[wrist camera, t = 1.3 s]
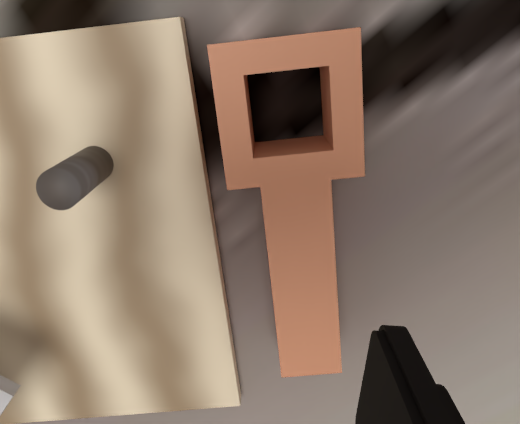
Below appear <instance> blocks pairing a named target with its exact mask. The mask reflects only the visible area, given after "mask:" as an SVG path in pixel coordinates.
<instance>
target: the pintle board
mask: <svg viewBox="0 0 520 424" xmlns="http://www.w3.org/2000/svg"><path fill="white" fill-rule="evenodd" d="M240 402H241V390H240V383H239V377H238V370H237V364H236V357H235V350H234V344H233V337H232V331H231V324H230V318H229V311H228V305H227V298H226V292H225V285H224V278H223V272H222V265H221V259H220V252H219V246H218V239H217V233H216V226H215V219H214V213H213V206H212V200H211V193H210V187H209V180H208V174H207V167H206V161H205V154H204V147H203V141H202V134H201V128H200V121H199V115H198V108H197V102H196V95H195V88H194V82H193V75H192V69H191V62H190V56H189V49H188V43H187V36H186V30H185V23H184V18H182V17H174V18H166V19H157V20H149V21H140V22H132V23H123V24H115V25H107V26H98V27H90V28H81V29H73V30H64V31H56V32H48V33H39V34H31V35H22V36H14V37H5V38H0V424H15V423H28V422H40V421H53V420H66V419H79V418H91V417H104V416H117V415H130V414H142V413H155V412H168V411H181V410H193V409H206V408H219V407H232V406H240Z"/></svg>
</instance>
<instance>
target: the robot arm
mask: <svg viewBox="0 0 520 424" xmlns="http://www.w3.org/2000/svg"><path fill="white" fill-rule="evenodd" d="M356 424H465V422H464V421H463V419H462V417H461V415H460V413H459V411H458V410H457V408H456V406H455V404H454V402H453V400H452V399H451V397H450V395H449V393H448V391H447V390H446V389H445V387H444V386H442V385H440V384H436V383H435V381H434V379H433V378H432V376H431V374H430V372H429V370H428V368H427V366H426V364H425V362H424V360H423V358H422V356H421V355H420V353H419V351H418V349H417V347H416V345H415V343H414V341H413V339H412V337H411V335H410V334H409V332H408V330H407V328H406V327H404V326H389V325H382V326H380V328H379V331H373V332H372V334H371V338H370V343H369V349H368V354H367V360H366V365H365V370H364V376H363V381H362V386H361V392H360V397H359V402H358V408H357V413H356Z"/></svg>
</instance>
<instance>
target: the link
mask: <svg viewBox="0 0 520 424" xmlns="http://www.w3.org/2000/svg"><path fill="white" fill-rule="evenodd" d="M207 49H208V56H209V63H210V71H211V78H212V85H213V92H214V99H215V106H216V114H217V121H218V128H219V135H220V142H221V150H222V157H223V164H224V171H225V178H226V186H227V190H235V189H245V188H255V187H260V189H261V198H262V207H263V216H264V225H265V233H266V242H267V251H268V260H269V269H270V278H271V287H272V296H273V305H274V314H275V323H276V331H277V340H278V349H279V358H280V367H281V376H282V377H294V376H307V375H319V374H332V373H342V366H341V348H340V330H339V312H338V294H337V276H336V258H335V240H334V222H333V204H332V186H331V180H335V179H345V178H355V177H364V176H365V159H364V124H363V89H362V54H361V27H357V28H349V29H340V30H331V31H323V32H314V33H305V34H297V35H288V36H280V37H271V38H262V39H254V40H245V41H236V42H228V43H219V44H210V45H207ZM313 67H320V82H321V99H322V116H323V133H324V135H320V136H311V137H301V138H292V139H282V140H273V141H263V142H255V141H254V132H253V123H252V114H251V105H250V97H249V88H248V79H247V75H250V74H259V73H268V72H277V71H286V70H295V69H304V68H313Z"/></svg>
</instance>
